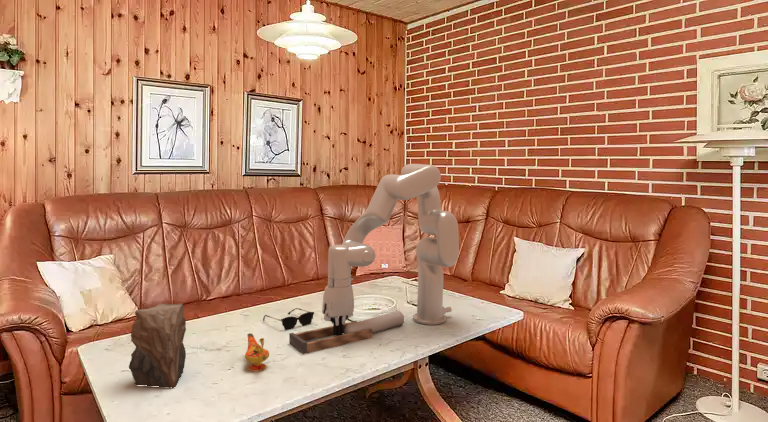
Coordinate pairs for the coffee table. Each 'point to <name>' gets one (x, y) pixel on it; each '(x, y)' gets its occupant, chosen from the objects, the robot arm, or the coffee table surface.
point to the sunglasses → (292, 321)
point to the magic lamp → (256, 353)
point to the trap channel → (309, 342)
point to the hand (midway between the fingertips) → (338, 335)
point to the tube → (377, 323)
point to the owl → (158, 345)
